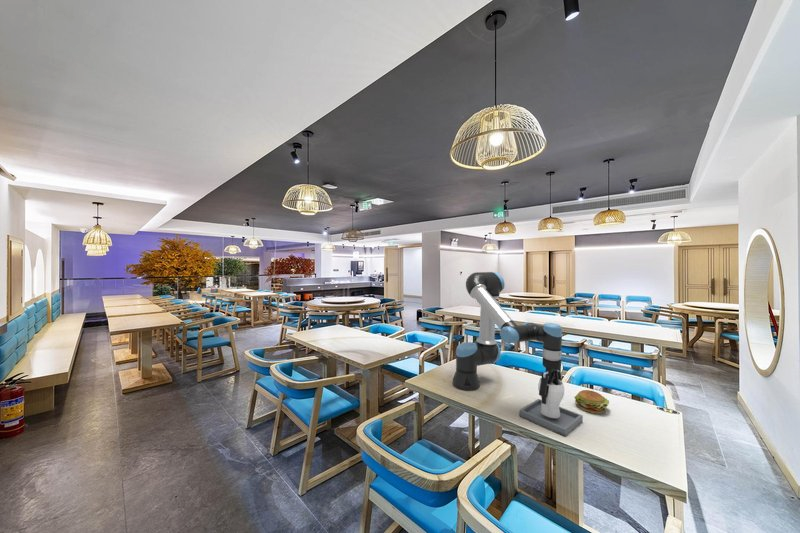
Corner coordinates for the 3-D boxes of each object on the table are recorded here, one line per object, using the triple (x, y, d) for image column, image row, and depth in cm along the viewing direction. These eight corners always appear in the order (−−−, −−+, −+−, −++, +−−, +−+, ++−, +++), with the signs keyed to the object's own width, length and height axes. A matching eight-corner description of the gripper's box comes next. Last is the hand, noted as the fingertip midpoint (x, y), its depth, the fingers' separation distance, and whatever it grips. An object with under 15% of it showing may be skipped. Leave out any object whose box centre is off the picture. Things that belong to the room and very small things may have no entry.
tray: (519, 416, 138) (519, 410, 138) (538, 404, 150) (538, 398, 150) (565, 436, 123) (565, 429, 123) (582, 421, 134) (582, 415, 134)
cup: (567, 421, 130) (568, 387, 129) (540, 418, 132) (541, 384, 132) (559, 409, 140) (560, 377, 140) (535, 406, 142) (535, 375, 142)
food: (596, 418, 137) (596, 401, 137) (568, 404, 150) (569, 388, 150) (616, 413, 142) (616, 396, 142) (587, 399, 155) (588, 384, 155)
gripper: (548, 366, 125) (547, 418, 126) (571, 355, 140) (570, 402, 140) (530, 361, 131) (529, 411, 132) (554, 351, 146) (553, 396, 146)
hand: (550, 406), depth 136 cm, fingers closed on cup, 10 cm apart
